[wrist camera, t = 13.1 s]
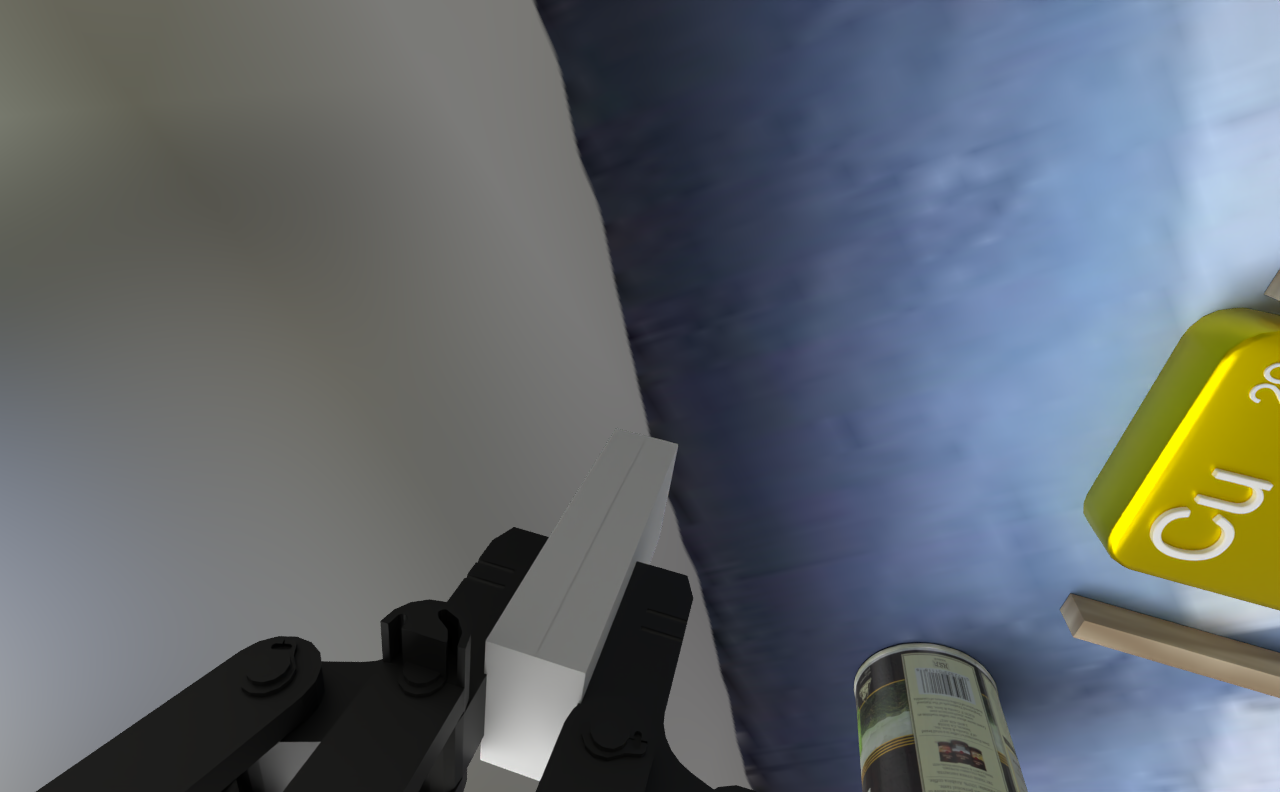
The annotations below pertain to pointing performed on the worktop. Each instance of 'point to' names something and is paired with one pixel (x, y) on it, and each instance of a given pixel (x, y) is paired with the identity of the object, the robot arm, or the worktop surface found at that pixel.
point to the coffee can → (932, 724)
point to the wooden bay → (1176, 634)
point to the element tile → (1202, 465)
